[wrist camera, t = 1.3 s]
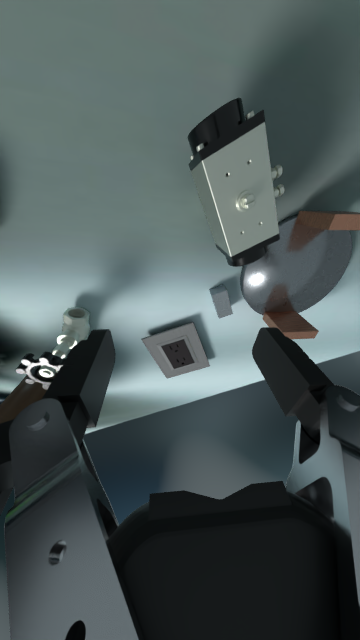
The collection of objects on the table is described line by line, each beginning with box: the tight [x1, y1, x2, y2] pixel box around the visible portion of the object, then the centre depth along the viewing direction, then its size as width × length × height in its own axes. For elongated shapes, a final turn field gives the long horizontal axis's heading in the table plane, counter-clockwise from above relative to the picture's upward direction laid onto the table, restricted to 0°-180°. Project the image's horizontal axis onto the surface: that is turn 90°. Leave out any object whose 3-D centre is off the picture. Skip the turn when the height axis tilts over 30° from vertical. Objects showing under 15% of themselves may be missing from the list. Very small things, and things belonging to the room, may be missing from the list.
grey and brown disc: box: [240, 211, 360, 339], centre depth 27 cm, size 18×17×8 cm
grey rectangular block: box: [209, 284, 233, 318], centre depth 31 cm, size 5×2×2 cm, turn 21°
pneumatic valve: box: [188, 98, 284, 266], centre depth 18 cm, size 6×12×12 cm, turn 26°
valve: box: [16, 307, 90, 390], centre depth 27 cm, size 7×7×12 cm
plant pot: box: [0, 372, 57, 423], centre depth 36 cm, size 16×16×16 cm
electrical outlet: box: [142, 322, 210, 378], centre depth 38 cm, size 13×10×2 cm
